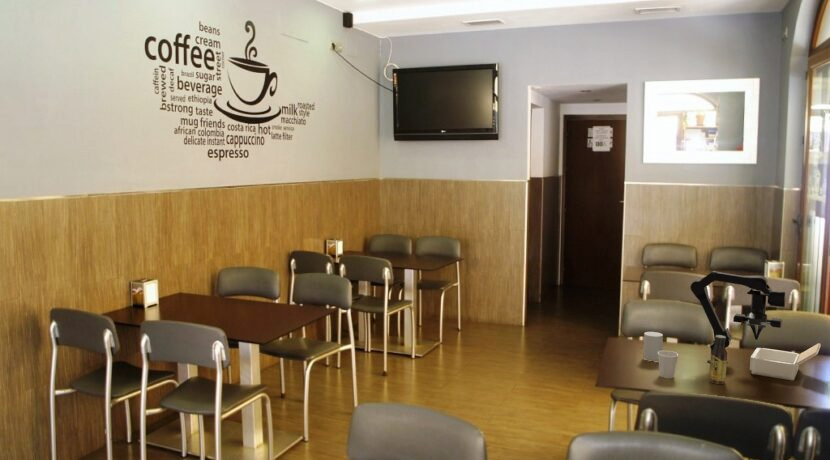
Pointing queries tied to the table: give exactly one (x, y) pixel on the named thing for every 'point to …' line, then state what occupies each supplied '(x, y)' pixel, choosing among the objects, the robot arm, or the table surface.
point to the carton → (774, 363)
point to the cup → (652, 345)
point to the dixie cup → (667, 363)
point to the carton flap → (808, 354)
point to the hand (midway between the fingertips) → (756, 339)
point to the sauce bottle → (718, 361)
